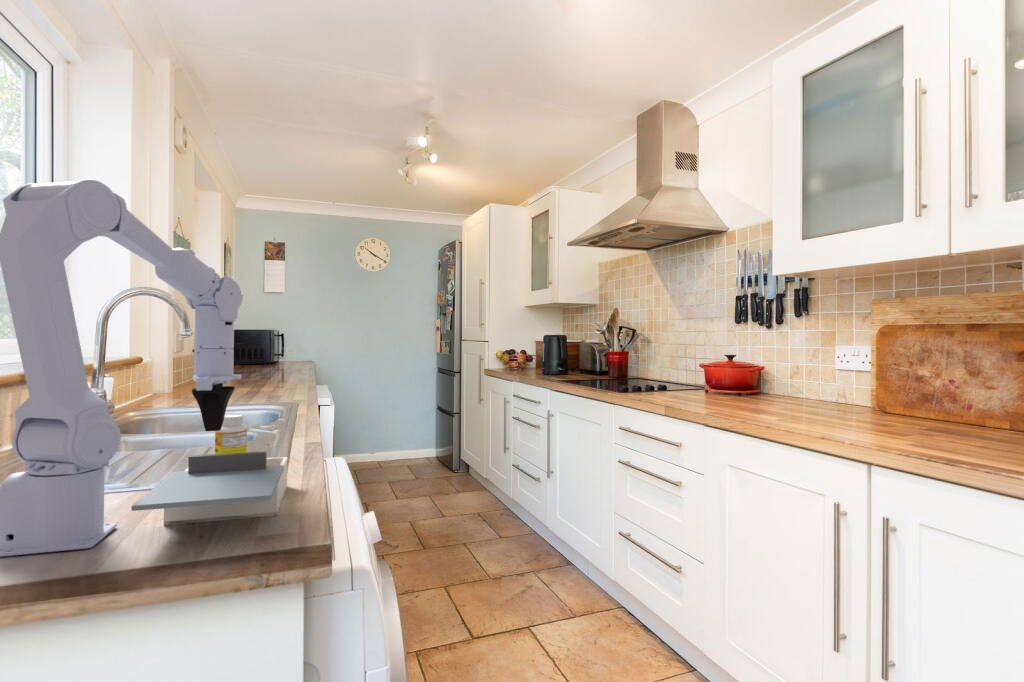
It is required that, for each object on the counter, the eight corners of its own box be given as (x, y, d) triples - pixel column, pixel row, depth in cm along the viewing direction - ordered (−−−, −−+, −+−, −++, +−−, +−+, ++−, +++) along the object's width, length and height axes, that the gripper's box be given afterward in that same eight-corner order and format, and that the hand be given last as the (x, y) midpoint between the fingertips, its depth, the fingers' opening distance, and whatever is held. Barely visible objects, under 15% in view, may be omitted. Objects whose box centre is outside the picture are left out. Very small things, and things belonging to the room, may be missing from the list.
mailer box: (163, 525, 71) (164, 488, 71) (194, 492, 86) (194, 462, 86) (277, 515, 75) (277, 480, 75) (287, 486, 90) (287, 457, 90)
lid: (131, 510, 60) (131, 484, 60) (173, 475, 76) (174, 455, 76) (270, 500, 65) (271, 475, 65) (283, 469, 81) (283, 449, 81)
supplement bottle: (218, 465, 105) (218, 414, 105) (249, 464, 106) (249, 413, 106) (211, 472, 99) (211, 418, 100) (244, 470, 101) (244, 417, 101)
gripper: (233, 349, 82) (232, 436, 82) (247, 348, 96) (247, 422, 96) (181, 349, 80) (180, 438, 80) (203, 348, 94) (203, 424, 94)
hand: (213, 430), depth 88 cm, fingers closed
